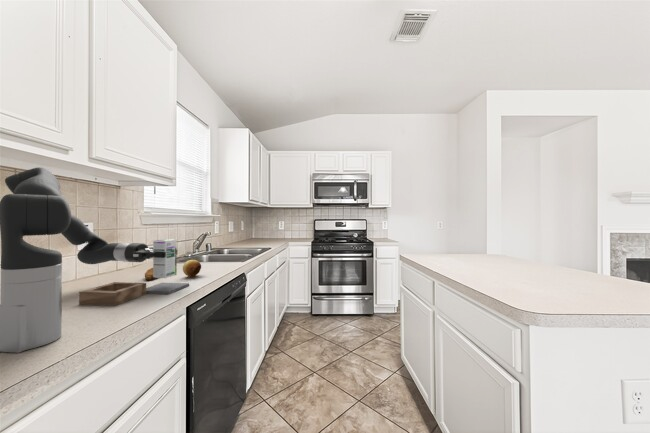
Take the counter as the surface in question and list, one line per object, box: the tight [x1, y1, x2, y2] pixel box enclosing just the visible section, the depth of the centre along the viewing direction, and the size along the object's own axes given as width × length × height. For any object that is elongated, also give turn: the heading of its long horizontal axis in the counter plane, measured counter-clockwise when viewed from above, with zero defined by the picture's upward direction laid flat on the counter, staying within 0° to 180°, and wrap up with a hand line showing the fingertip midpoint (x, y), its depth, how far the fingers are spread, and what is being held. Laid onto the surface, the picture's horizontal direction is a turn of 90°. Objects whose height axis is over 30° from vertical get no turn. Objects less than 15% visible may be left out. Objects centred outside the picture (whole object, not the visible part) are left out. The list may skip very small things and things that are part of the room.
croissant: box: [144, 267, 156, 281], centre depth 122 cm, size 14×7×5 cm, turn 18°
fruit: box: [182, 259, 202, 278], centre depth 125 cm, size 8×8×8 cm
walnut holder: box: [78, 281, 147, 306], centre depth 91 cm, size 13×13×4 cm
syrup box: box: [152, 238, 178, 279], centre depth 103 cm, size 6×6×14 cm
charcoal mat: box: [146, 282, 190, 295], centre depth 103 cm, size 12×12×1 cm
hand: (171, 253), depth 103 cm, fingers closed on syrup box, 6 cm apart
